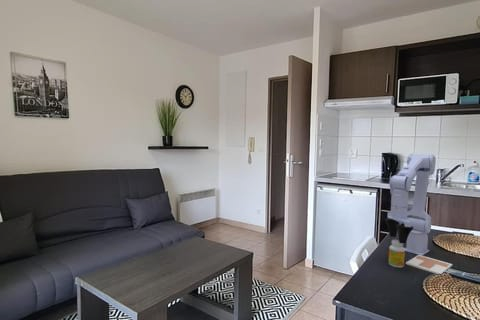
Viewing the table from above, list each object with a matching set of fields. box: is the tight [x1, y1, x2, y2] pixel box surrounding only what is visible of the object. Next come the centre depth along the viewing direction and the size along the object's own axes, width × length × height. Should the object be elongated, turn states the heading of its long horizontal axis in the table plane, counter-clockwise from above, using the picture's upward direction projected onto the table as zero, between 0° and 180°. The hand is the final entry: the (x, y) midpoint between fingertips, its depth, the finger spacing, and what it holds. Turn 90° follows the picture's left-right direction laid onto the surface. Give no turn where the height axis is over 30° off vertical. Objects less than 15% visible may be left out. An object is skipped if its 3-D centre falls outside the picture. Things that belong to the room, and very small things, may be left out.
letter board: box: [405, 254, 453, 275], centre depth 113 cm, size 14×12×1 cm
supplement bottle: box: [388, 239, 406, 269], centre depth 112 cm, size 5×5×10 cm
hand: (397, 239), depth 112 cm, fingers open, 7 cm apart
